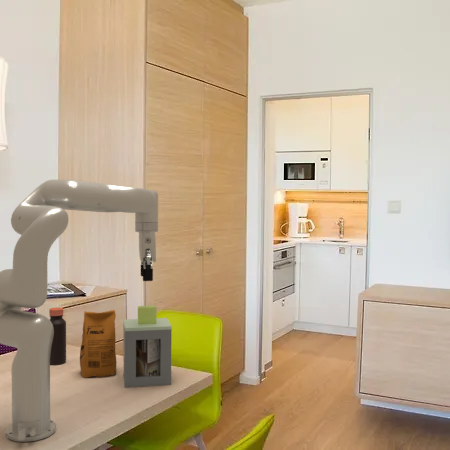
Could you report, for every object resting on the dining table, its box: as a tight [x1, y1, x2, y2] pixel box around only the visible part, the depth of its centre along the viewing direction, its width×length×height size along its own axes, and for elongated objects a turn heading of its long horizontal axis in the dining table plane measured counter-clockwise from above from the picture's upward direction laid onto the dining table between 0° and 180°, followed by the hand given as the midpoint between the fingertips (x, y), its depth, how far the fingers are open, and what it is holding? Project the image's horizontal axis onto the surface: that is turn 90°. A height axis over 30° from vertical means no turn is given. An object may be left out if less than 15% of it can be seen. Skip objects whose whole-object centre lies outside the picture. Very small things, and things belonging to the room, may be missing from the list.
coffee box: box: [136, 339, 160, 377], centre depth 189 cm, size 9×6×16 cm
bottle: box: [49, 307, 67, 366], centre depth 206 cm, size 7×7×20 cm
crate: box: [122, 327, 173, 388], centre depth 189 cm, size 12×15×18 cm
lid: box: [123, 305, 173, 331], centre depth 188 cm, size 12×15×8 cm
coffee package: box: [79, 309, 117, 379], centre depth 195 cm, size 10×12×22 cm
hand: (146, 278), depth 187 cm, fingers open, 9 cm apart
